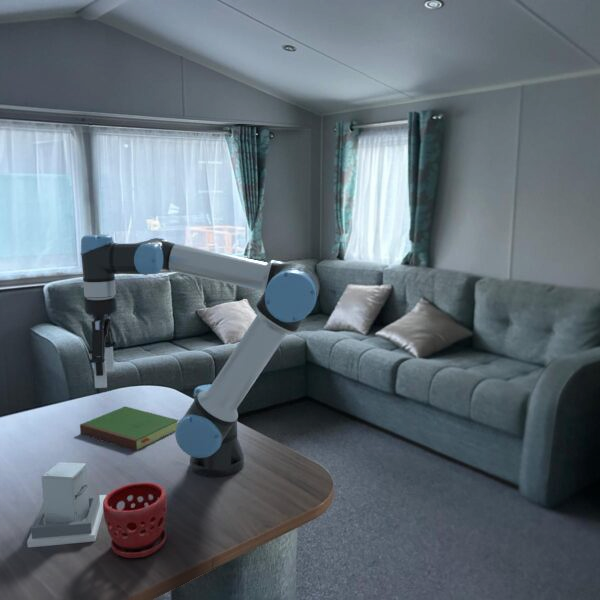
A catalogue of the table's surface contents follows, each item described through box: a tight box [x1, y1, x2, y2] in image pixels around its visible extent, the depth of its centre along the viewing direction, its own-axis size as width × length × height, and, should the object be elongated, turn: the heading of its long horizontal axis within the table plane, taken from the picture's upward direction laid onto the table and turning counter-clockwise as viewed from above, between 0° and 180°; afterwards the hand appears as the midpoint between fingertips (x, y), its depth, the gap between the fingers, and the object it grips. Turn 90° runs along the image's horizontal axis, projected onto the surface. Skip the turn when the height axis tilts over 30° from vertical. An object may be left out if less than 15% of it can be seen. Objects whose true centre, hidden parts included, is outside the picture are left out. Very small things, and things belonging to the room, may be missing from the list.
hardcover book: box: [79, 406, 179, 452], centre depth 191 cm, size 25×19×4 cm
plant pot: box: [103, 481, 168, 559], centre depth 129 cm, size 13×13×12 cm
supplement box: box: [41, 461, 90, 524], centre depth 136 cm, size 7×7×13 cm
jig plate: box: [26, 494, 107, 548], centre depth 139 cm, size 14×18×4 cm
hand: (105, 379), depth 153 cm, fingers open, 13 cm apart
